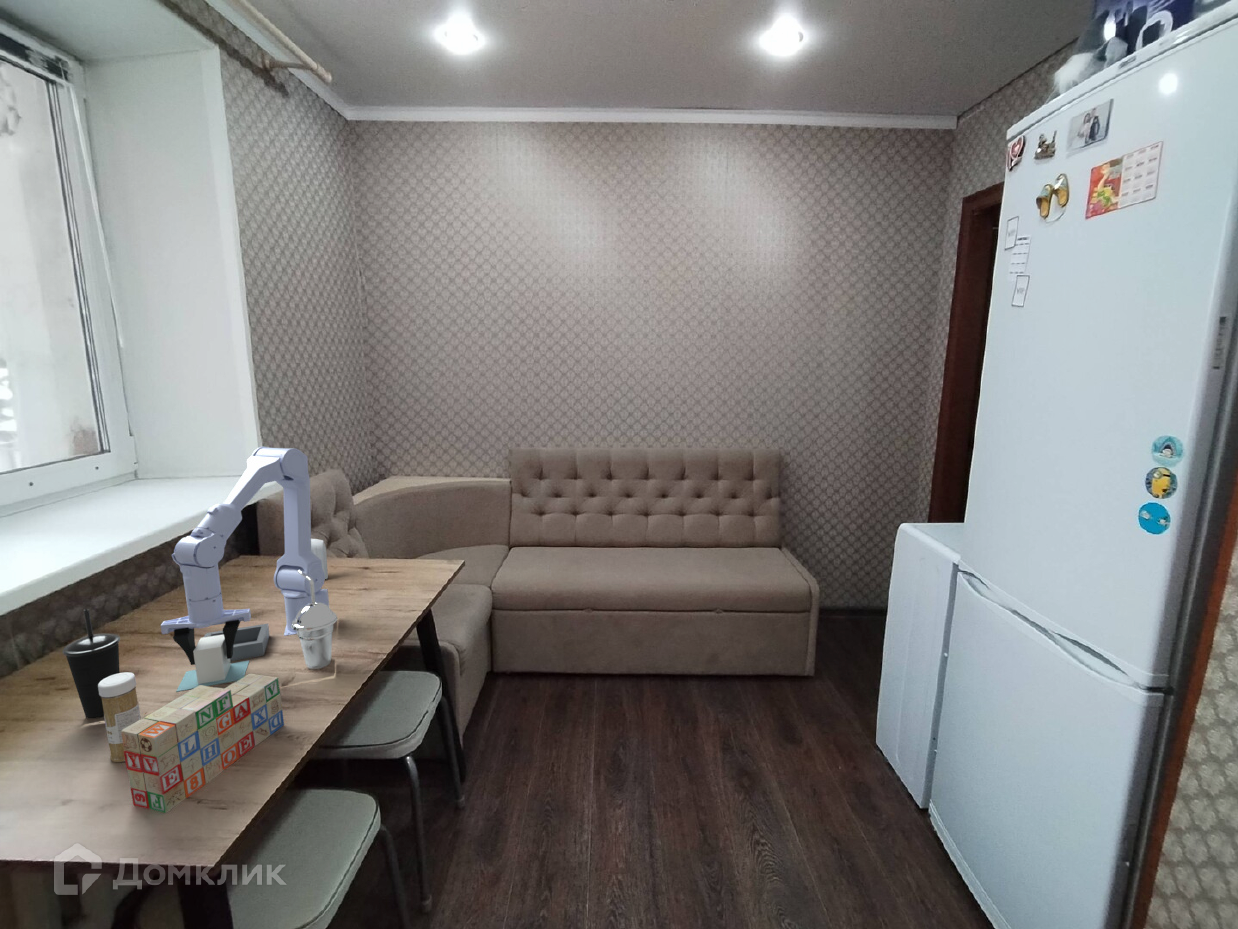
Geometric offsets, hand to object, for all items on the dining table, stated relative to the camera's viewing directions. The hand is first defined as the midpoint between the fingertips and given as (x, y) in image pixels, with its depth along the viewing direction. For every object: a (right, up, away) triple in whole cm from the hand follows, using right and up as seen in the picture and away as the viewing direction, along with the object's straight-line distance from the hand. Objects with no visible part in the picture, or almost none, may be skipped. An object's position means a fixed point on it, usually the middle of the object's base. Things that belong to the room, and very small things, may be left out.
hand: (212, 659), depth 119 cm
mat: (0, -4, +1) cm, 4 cm away
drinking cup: (-12, -6, -11) cm, 18 cm away
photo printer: (-8, +5, +53) cm, 54 cm away
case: (-2, -2, +11) cm, 11 cm away
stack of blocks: (+17, -9, -24) cm, 31 cm away
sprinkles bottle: (+2, -8, -22) cm, 24 cm away
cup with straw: (+19, -3, +6) cm, 20 cm away
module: (0, -3, +1) cm, 3 cm away
